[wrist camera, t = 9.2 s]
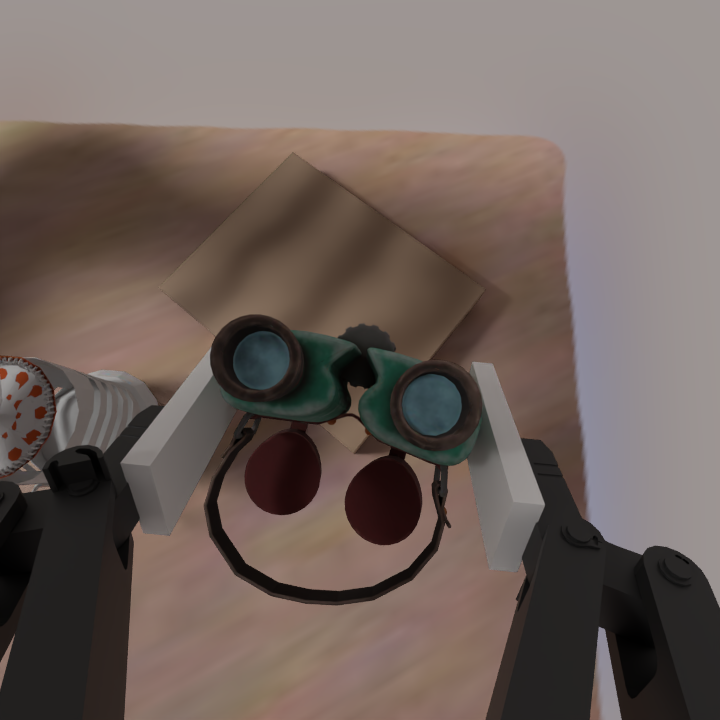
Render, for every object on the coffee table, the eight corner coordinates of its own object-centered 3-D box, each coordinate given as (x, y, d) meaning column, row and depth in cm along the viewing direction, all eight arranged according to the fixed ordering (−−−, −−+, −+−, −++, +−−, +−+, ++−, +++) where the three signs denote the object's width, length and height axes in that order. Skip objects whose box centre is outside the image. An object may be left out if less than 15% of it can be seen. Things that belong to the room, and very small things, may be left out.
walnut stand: (172, 299, 35) (157, 287, 33) (297, 172, 38) (292, 152, 36) (354, 454, 32) (353, 453, 30) (477, 301, 35) (485, 289, 32)
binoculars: (53, 667, 9) (196, 239, 10) (227, 535, 19) (287, 331, 21) (463, 805, 8) (560, 327, 10) (416, 592, 19) (466, 376, 20)
